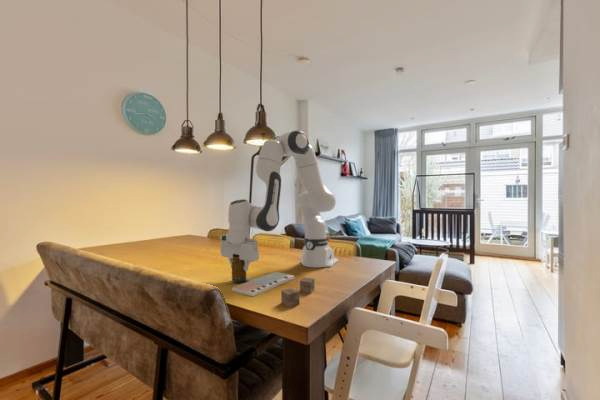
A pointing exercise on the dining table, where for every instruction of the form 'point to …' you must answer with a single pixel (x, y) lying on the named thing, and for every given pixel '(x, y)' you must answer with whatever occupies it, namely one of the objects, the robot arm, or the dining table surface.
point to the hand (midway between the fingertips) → (239, 269)
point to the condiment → (238, 271)
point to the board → (262, 283)
